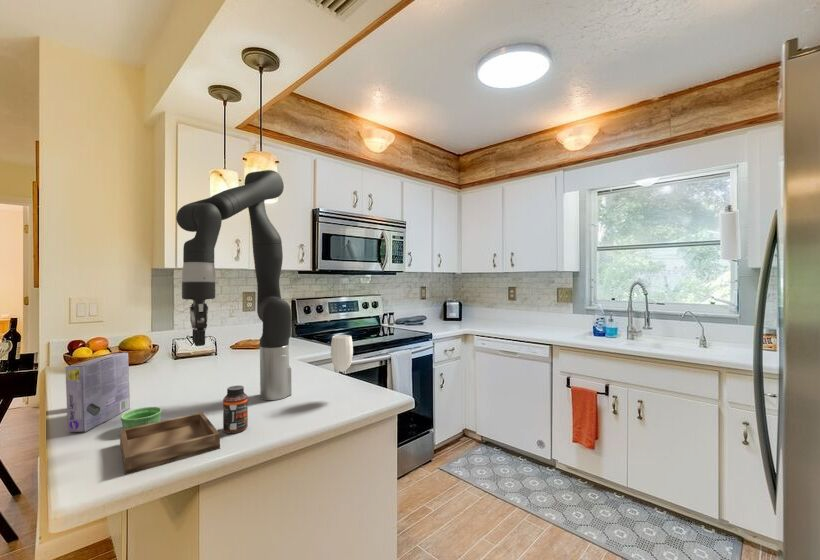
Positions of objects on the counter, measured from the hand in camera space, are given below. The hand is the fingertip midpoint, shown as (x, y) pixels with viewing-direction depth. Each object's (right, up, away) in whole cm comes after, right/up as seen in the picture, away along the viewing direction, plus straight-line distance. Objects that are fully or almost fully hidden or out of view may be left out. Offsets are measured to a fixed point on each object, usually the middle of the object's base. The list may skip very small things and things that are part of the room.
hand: (198, 344), depth 96 cm
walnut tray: (-4, -24, -6) cm, 25 cm away
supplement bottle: (+8, -24, +4) cm, 25 cm away
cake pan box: (-34, -24, +11) cm, 43 cm away
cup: (+32, -23, +28) cm, 48 cm away
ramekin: (-18, -24, +5) cm, 30 cm away
